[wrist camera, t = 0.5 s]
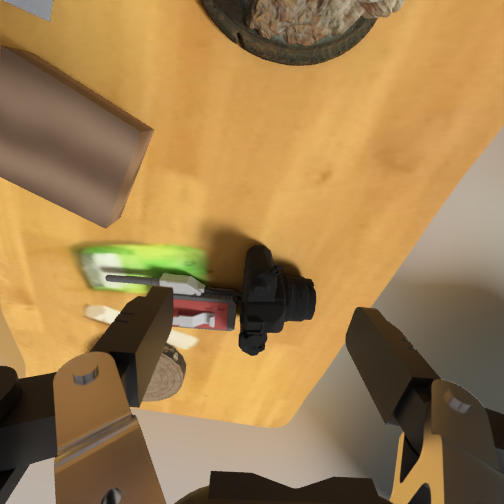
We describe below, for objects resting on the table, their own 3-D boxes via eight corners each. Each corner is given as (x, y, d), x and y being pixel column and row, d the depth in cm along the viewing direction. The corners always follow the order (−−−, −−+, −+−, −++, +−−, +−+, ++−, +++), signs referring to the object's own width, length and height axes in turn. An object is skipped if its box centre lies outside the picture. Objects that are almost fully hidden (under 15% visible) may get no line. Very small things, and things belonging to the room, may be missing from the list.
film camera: (292, 322, 41) (305, 372, 33) (235, 319, 40) (234, 370, 32) (315, 244, 33) (338, 286, 25) (244, 238, 32) (246, 280, 24)
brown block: (38, 55, 23) (1, 45, 20) (155, 129, 27) (140, 131, 23) (21, 164, 28) (-11, 171, 25) (121, 216, 32) (105, 228, 28)
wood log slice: (146, 395, 52) (140, 409, 49) (83, 354, 45) (73, 369, 43) (203, 369, 47) (200, 384, 45) (143, 320, 41) (136, 334, 38)
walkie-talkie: (246, 277, 36) (109, 265, 35) (245, 297, 32) (91, 285, 31) (242, 320, 40) (120, 310, 39) (240, 342, 36) (106, 331, 36)
